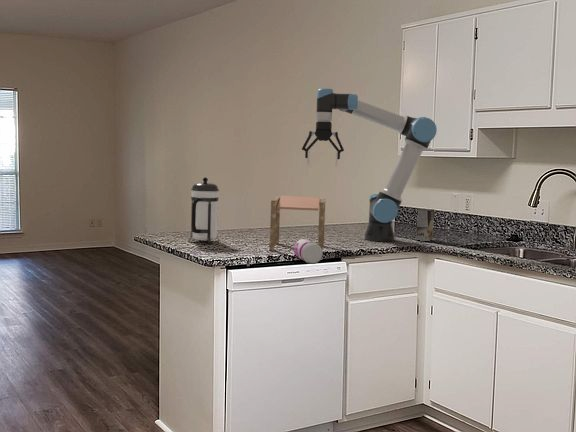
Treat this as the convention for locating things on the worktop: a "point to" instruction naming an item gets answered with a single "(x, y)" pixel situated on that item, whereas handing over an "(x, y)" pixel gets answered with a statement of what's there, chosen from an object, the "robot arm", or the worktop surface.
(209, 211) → the coffee press
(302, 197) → the trapdoor
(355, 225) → the worktop surface
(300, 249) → the supplement can
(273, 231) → the trapdoor frame
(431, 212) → the coffee box
